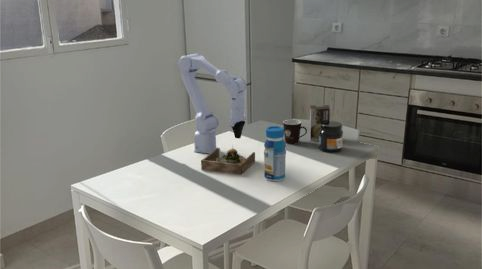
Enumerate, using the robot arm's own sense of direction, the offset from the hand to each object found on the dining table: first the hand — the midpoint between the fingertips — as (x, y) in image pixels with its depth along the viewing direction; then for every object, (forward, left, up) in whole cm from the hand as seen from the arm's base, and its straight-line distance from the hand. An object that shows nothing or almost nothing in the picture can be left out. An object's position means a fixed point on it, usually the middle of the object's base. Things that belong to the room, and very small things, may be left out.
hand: (237, 137), depth 199 cm
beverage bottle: (+22, -17, -9) cm, 29 cm away
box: (0, -11, -9) cm, 14 cm away
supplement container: (+36, +22, -9) cm, 43 cm away
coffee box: (+28, +35, -9) cm, 46 cm away
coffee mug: (+18, +25, -9) cm, 32 cm away
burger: (0, -8, -9) cm, 12 cm away
